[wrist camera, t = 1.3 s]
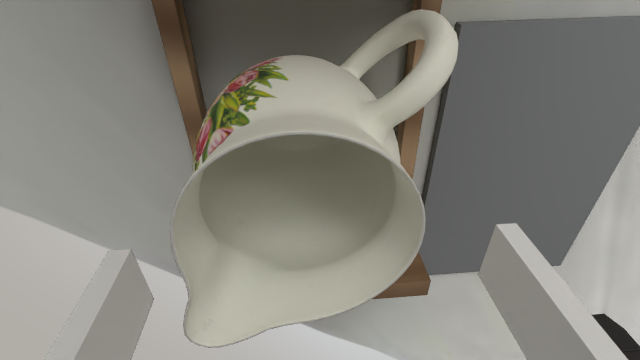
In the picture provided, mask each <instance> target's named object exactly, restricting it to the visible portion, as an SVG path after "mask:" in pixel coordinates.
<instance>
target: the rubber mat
mask: <svg viewBox="0 0 640 360" xmlns="http://www.w3.org/2000/svg"><path fill="white" fill-rule="evenodd" d="M455 32H456V33H457V38H458V54H457V61H456V63H455V66H454V69H453V71H452V73H451V75H450V77H449V78H448V80H447V82H446V83H445V85H444V89H443V94H442V99H441V104H440V110H439V115H438V120H437V125H436V130H435V135H434V140H433V146H432V151H431V156H430V161H429V166H428V171H427V176H426V182H425V187H424V192H423V197H422V201H423V205H424V210H425V219H426V220H425V232H424V236H423V241H422V244H421V246H420V249H419V254H420V256H421V259H422V261H423V263H424V266H425V268H426V271H427V273H428V275H435V274H449V273H463V272H476V271H480V268H481V265H482V262H483V260H484V257H485V254H486V251H487V248H488V246H489V243H490V240H491V237H492V234H493V232H494V229H495V226H496V224H511V223H516V224H517V225H518V226H519V227H520V228H521V230H522V231H523V232H524V233H525V234H526V236H527V237H528V238H529V239H530V241H531V242H532V243H533V244H534V245H535V247H536V248H537V249H538V250H539V252H540V253H541V254H542V255H543V256H544V258H545V259H546V260H547V261H548V263H549V264H550V265H551V266H559V265H561V263H562V261H563V260H564V258H565V256H566V254H567V253H568V251H569V249H570V247H571V245H572V244H573V242H574V240H575V238H576V237H577V235H578V233H579V231H580V230H581V228H582V226H583V224H584V223H585V221H586V219H587V217H588V216H589V214H590V212H591V210H592V209H593V207H594V205H595V203H596V202H597V200H598V198H599V196H600V195H601V193H602V191H603V189H604V188H605V186H606V184H607V182H608V181H609V179H610V177H611V175H612V173H613V172H614V170H615V168H616V166H617V165H618V163H619V161H620V159H621V158H622V156H623V154H624V152H625V151H626V149H627V147H628V145H629V144H630V142H631V140H632V138H633V137H634V135H635V133H636V131H637V130H638V128H639V126H640V16H620V17H592V18H564V19H535V20H507V21H479V22H456V27H455Z"/></svg>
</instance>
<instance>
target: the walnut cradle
mask: <svg viewBox="0 0 640 360" xmlns="http://www.w3.org/2000/svg"><path fill="white" fill-rule="evenodd" d="M151 1H152V4H153V8H154V12H155V15H156V19H157V23H158V27H159V30H160V34H161V38H162V41H163V45H164V49H165V53H166V56H167V60H168V64H169V67H170V71H171V75H172V79H173V82H174V86H175V90H176V94H177V97H178V101H179V105H180V108H181V112H182V116H183V120H184V123H185V127H186V131H187V134H188V138H189V142H190V146H191V149H192V153H193V157H194V149H195V145H196V141H197V137H198V133H199V130H200V127H201V125H202V123H203V120H204V118H205V116H206V114H207V112H206V107H205V103H204V98H203V94H202V89H201V85H200V80H199V76H198V71H197V67H196V62H195V58H194V53H193V49H192V44H191V40H190V36H189V31H188V27H187V22H186V18H185V13H184V9H183V4H182V0H151ZM441 3H442V0H414V2H413V10H412V11H415V10H420V9H421V10H429V11H435V12H437V13H439V14H440V9H441ZM424 44H425V40H422V39H418V40H414V41H411V42H409V43H408V50H407V58H406V66H405V74H404V78H405V77H406V76H407V75H408V74H409V73H410V72H411V70H412V69H413V68H414V66H415V65H416V63H417V62H418V60H419V58H420V57H421V54H422V52H423V49H424ZM423 111H424V107H423V108H421V109H420V110H419V111H418V112H416V113H415V114H414V115H412V116H411V117H409V118H408V119H406V120H405V121H403V122H401V123H399V124H398V131H397V142H398V147H399V154H400V164H401V165H402V166H403V168H404V169H405V171H406V172H407V173H408V175H409V176H410V177H411V179H412V178H413V172H414V166H415V160H416V154H417V148H418V142H419V136H420V130H421V124H422V118H423ZM430 282H431V280H430V278H429V275H428V273H427V271H426V268H425V266H424V263H423V261H422V259H421V256H420V254H419V251H418V253H417V255H416V257H415V258H414V260H413V262H412V263H411V265H410V266H409V267H408V269H407V270H406V271H405V272H404V273H403V274H402V275H401V276H400V277H399V278H398V279H397V280H396V281H395V282H394V283H393V284H392V285H391V286H389V287H388V288H387V289H386V290H384V291H383V292H381V293H380V294H379V295H377V296H376V297H374V298H372V299H380V298H393V297H406V296H420V295H427V294H428V290H429V286H430Z"/></svg>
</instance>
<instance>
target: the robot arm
mask: <svg viewBox="0 0 640 360" xmlns="http://www.w3.org/2000/svg"><path fill="white" fill-rule="evenodd" d="M478 275H479V277H480V279H481V280H482V282H483V284H484V286H485V287H486V289H487V291H488V293H489V294H490V296H491V298H492V300H493V301H494V303H495V305H496V306H497V308H498V310H499V312H500V313H501V315H502V317H503V319H504V320H505V322H506V324H507V326H508V327H509V329H510V331H511V332H512V334H513V336H514V338H515V339H516V341H517V343H518V345H519V346H520V348H521V350H522V352H523V353H524V355H525V357H526V359H527V360H640V346H639V345H638V344H637V343H636V342H635V341H634V339H633V338H632V337H631V336H630V335H629V334H628V333H627V331H626V330H625V329H624V328H622V327H621V326H620V325H618V324H617V323H616V322H614V321H613V320H612V319H610V318H609V317H608V316H606V315H605V314H596V315H591V314H590V313H589V311H588V310H587V309H586V308H585V306H584V305H583V304H582V303H581V302H580V300H579V299H578V298H577V297H576V295H575V294H574V293H573V292H572V291H571V289H570V288H569V287H568V286H567V284H566V283H565V282H564V281H563V280H562V278H561V277H560V276H559V275H558V273H557V272H556V271H555V270H554V269H553V267H552V266H551V265H550V264H549V263H548V261H547V260H546V259H545V258H544V256H543V255H542V254H541V253H540V252H539V250H538V249H537V248H536V247H535V245H534V244H533V243H532V242H531V241H530V239H529V238H528V237H527V236H526V234H525V233H524V232H523V231H522V230H521V228H520V227H519V226H518V225H517V224H516V223H511V224H496V226H495V229H494V232H493V234H492V237H491V240H490V243H489V246H488V248H487V251H486V254H485V257H484V260H483V262H482V265H481V268H480V271H479V273H478ZM153 300H154V298H153V296H152V293H151V291H150V289H149V287H148V285H147V283H146V281H145V278H144V276H143V274H142V272H141V270H140V268H139V265H138V263H137V261H136V259H135V257H134V254H133V252H132V250H131V249H126V250H111V251H108V252H107V254H106V256H105V258H104V259H103V261H102V262H101V264H100V266H99V268H98V269H97V271H96V273H95V274H94V276H93V278H92V279H91V281H90V283H89V285H88V286H87V288H86V290H85V291H84V293H83V295H82V297H81V298H80V300H79V301H78V303H77V305H76V307H75V308H74V310H73V312H72V313H71V315H70V317H69V318H68V320H67V322H66V324H65V325H64V327H63V329H62V330H61V332H60V334H59V336H58V337H57V339H56V341H55V342H54V344H53V346H52V348H51V349H50V351H49V352H48V354H47V356H46V358H45V359H44V360H131V358H132V356H133V353H134V350H135V348H136V345H137V342H138V340H139V337H140V335H141V332H142V329H143V327H144V324H145V322H146V319H147V316H148V313H149V311H150V308H151V306H152V303H153Z"/></svg>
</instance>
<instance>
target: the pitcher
mask: <svg viewBox="0 0 640 360" xmlns="http://www.w3.org/2000/svg"><path fill="white" fill-rule="evenodd" d="M418 39H422V40H425V44H424V49H423V52H422V54H421V57H420V58H419V60H418V62H417V63H416V65H415V66H414V68H413V69H412V70H411V72H410V73H409V74H408V75H407V76H406V77H405V78H404V79H403V80H402V81H401V82H400V83H399V84H398V85H397V86H396V87H395V88H393V89H392V90H391V91H389V92H388V93H387V94H385V95H384V96H382V97H381V98H379V99H377V98H376V97H375V96H374V94H373V93H372V92H371V91H370V90H369V89H368V88H367V87H366V86H365V85H364V84H363V83H362V82H361V81H360V78H361V77H362V76H363V75H364V74H365V73H366V72H367V71H368V70H369V69H370V68H371V67H372V66H373V65H375V64H376V63H377V62H378V61H379V60H381V59H382V58H383V57H385V56H386V55H388V54H389V53H391V52H392V51H394V50H396V49H397V48H399V47H401V46H403V45H405V44H407V43H409V42H411V41H414V40H418ZM457 54H458V38H457V33H456V32H455V31H454V29H453V28H452V26H451V25H450V23H449V22H448V21H447V20H446V19H445V18H444V17H443V16H442V15H440V14H439V13H437V12H435V11H429V10H421V9H420V10H415V11H411V12H408V13H406V14H403V15H401V16H400V17H398V18H396V19H394V20H393V21H391V22H390V23H388V24H387V25H385V26H384V27H382V28H381V29H380V30H378V31H377V32H376V33H375V34H373V35H372V36H371V37H370V38H369V39H368V40H366V41H365V42H364V43H363V44H362V45H361V46H360V47H359V48H358V49H357V50H356V51H355V52H354V53H353V54H352V55H351V56H350V57H349V58H348V59H347V60H346V61H345V62H344V63H343V64H342V65H340V66H337V65H335V64H333V63H331V62H328V61H326V60H324V59H320V58H316V57H312V56H304V55H286V56H280V57H275V58H272V59H268V60H265V61H262V62H260V63H258V64H256V65H254V66H252V67H250V68H248V69H247V70H245V71H243V72H242V73H240V74H239V75H238V76H237V77H236V78H235V79H233V80H232V81H231V82H230V83H229V84H228V85H227V86H226V87H225V88H224V89H223V90H222V92H221V93H220V94H219V95H218V96H217V98H216V99H215V101H214V102H213V104H212V105H211V107H210V109H209V110H208V112H207V114H206V116H205V118H204V120H203V123H202V125H201V127H200V130H199V133H198V137H197V141H196V145H195V149H194V158H193V174H192V176H191V177H190V179H189V180H188V182H187V183H186V185H185V186H184V188H183V190H182V191H181V193H180V195H179V197H178V200H177V202H176V204H175V207H174V210H173V214H172V219H171V227H170V239H171V247H172V251H173V255H174V258H175V262H176V264H177V266H178V268H179V271H180V273H181V275H182V277H183V279H184V281H185V283H186V287H187V291H188V298H189V300H188V303H187V306H186V310H185V315H184V324H183V326H184V332H185V336H186V337H187V338H188V339H189V340H190V341H191V342H193V343H195V344H197V345H199V346H204V347H208V348H211V347H223V346H227V345H231V344H235V343H238V342H241V341H243V340H246V339H249V338H251V337H253V336H256V335H258V334H260V333H262V332H264V331H266V330H269V329H273V328H276V327H280V326H285V325H291V324H298V323H304V322H311V321H316V320H320V319H324V318H328V317H331V316H334V315H338V314H341V313H343V312H346V311H348V310H351V309H353V308H355V307H357V306H359V305H361V304H363V303H365V302H367V301H369V300H370V299H372V298H374V297H376V296H377V295H379V294H380V293H381V292H383V291H384V290H386V289H387V288H388V287H389V286H391V285H392V284H393V283H394V282H395V281H396V280H397V279H398V278H399V277H400V276H401V275H402V274H403V273H404V272H405V271H406V270H407V269H408V267H409V266H410V265H411V263H412V262H413V260H414V258H415V257H416V255H417V253H418V251H419V249H420V246H421V244H422V241H423V236H424V232H425V220H426V219H425V210H424V205H423V201H422V198H421V195H420V193H419V191H418V189H417V187H416V185H415V183H414V181H413V180H412V179H411V177H410V176H409V175H408V173H407V172H406V171H405V169H404V168H403V166H402V165H401V164H400V154H399V147H398V142H397V139H396V136H395V132H394V130H393V128H394V127H395V126H396V125H398V124H399V123H401V122H403V121H405V120H406V119H408V118H409V117H411V116H412V115H414V114H415V113H416V112H418V111H419V110H420V109H421V108H423V107H424V106H425V105H426V104H427V103H428V102H429V101H430V100H431V99H433V98H434V97H435V96H436V95H437V93H438V92H439V91H440V90H441V88H442V87H443V86H444V85H445V83H446V82H447V80H448V78H449V77H450V75H451V73H452V71H453V69H454V66H455V63H456V61H457Z"/></svg>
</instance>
